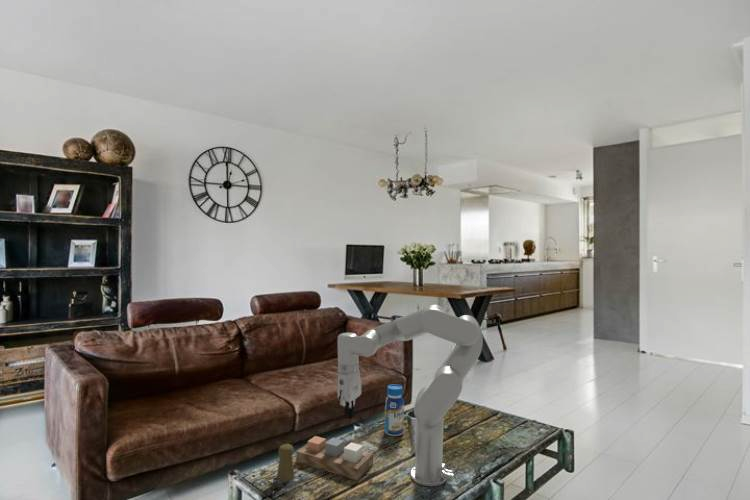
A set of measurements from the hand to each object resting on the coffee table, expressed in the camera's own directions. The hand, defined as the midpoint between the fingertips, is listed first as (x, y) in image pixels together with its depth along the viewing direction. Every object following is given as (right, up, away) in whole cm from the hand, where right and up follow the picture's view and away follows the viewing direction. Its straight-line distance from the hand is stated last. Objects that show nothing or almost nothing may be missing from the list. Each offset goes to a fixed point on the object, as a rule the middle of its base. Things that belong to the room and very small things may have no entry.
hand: (349, 417), depth 157 cm
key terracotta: (-13, -16, +7) cm, 22 cm away
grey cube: (-6, -15, +3) cm, 16 cm away
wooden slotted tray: (-6, -18, +3) cm, 19 cm away
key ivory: (+1, -15, -1) cm, 15 cm away
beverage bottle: (+18, -18, +29) cm, 39 cm away
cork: (-22, -18, -7) cm, 29 cm away
